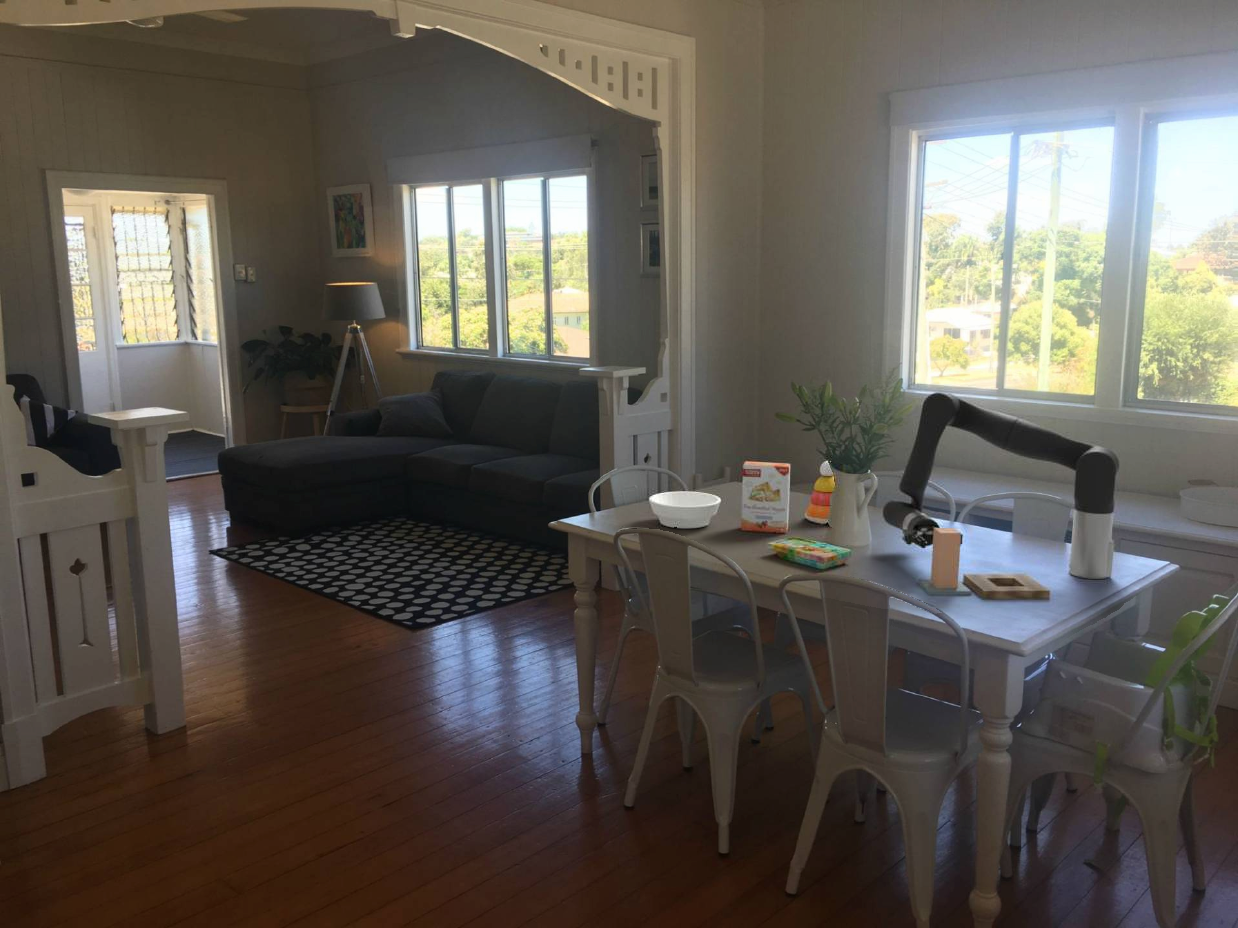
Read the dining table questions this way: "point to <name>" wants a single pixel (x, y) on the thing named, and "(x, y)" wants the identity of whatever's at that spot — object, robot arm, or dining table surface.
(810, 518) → the stacking toy
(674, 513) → the bowl
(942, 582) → the terracotta block
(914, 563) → the dining table surface
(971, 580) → the walnut puzzle board
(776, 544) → the puzzle game
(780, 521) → the cracker box
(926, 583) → the slate pad
